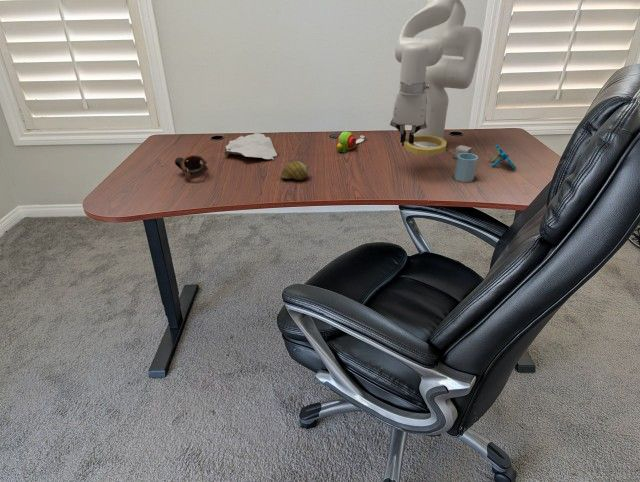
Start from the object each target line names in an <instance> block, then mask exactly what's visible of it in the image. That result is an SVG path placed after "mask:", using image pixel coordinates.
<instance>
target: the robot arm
mask: <svg viewBox="0 0 640 482" xmlns="http://www.w3.org/2000/svg"><path fill="white" fill-rule="evenodd" d="M466 17H467V11H466V8H465V6H464V4H463V2H462V1H461V0H426V2H425V6H424V7H422V8H421V9H420V10H418V11H416V12H415V13H414V14H413V15H412V16H411V17H410V18H408V20H406V22H405V23H404V24H403V25H402V28H401V30H400V32H399V35H398V39H397V41H396V44H395V49H394V56H395V59H396V61H397V62H398V63H400V75H399V88H398V90H396V94H395V99H394V103H393V110H392V117H391V120H390V122H389V126H391V127H393V128H395V129H396V130H397V131H398V132H399V134H400V141H399V142H400V143H401V147H404V142H405V139H406V138H407V132H406V126H411V129H410V132H409V135H408V137H409V143H410V144H411V143H412V144H411V145H413V146H416V147H420V148H434V147H438V146H439V145H438V144H434V143H431V142H415V143H413V142H414V135H432V136H437V137H440V138H442V139H444V135H445V129H446V121H447V115H448V114H447V113H448V108H449V102H450V101H449V95H448V92H447V90H446V88H447V89H448V88H449V89H457V90H466V89H468V88H469V87H470V86H471V84H472V82H473V79H474V76H475V71H476V67H477V64H478V59H479V56H480V51H481V47H482V42H483V33H482V31H481V29H480V28H479V27H475V26H464V24H465V20H466ZM435 27H437V29H436V33H435V36H434V38H424V37H415V36H417V35H418V34H419V33H422V32H424V31H426V30H429V29H432V28H435ZM443 56H445V57H443ZM446 56H447V58H446ZM448 56H449V58H448ZM450 57H459V58H450ZM461 58H463V59H461ZM447 143H448V142H447ZM447 143H446V145H448V144H447Z"/></svg>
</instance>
